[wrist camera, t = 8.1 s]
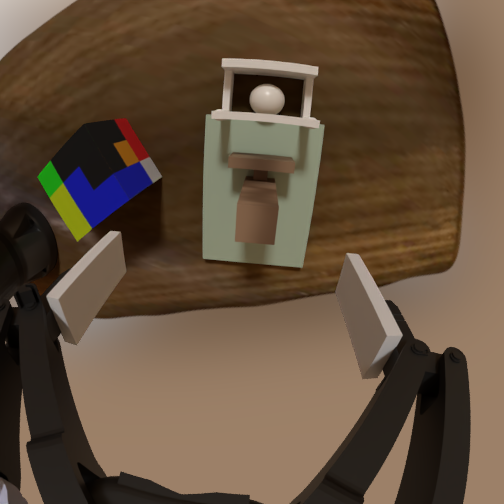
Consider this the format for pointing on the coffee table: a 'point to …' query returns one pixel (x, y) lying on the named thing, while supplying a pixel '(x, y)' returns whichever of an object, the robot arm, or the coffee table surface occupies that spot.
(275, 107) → the ball
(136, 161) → the puzzle toy
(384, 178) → the coffee table surface
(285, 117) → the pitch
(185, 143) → the coffee table surface
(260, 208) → the kicker
